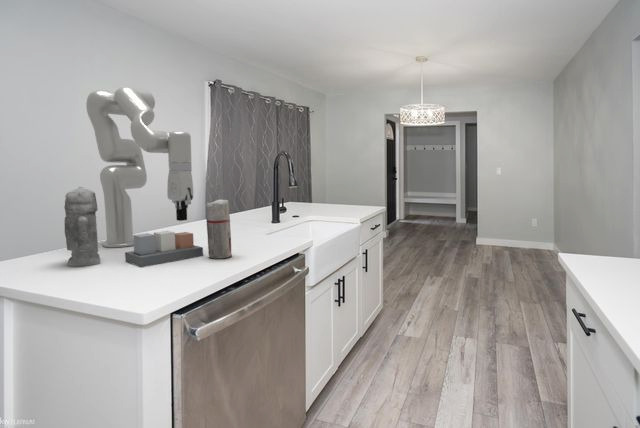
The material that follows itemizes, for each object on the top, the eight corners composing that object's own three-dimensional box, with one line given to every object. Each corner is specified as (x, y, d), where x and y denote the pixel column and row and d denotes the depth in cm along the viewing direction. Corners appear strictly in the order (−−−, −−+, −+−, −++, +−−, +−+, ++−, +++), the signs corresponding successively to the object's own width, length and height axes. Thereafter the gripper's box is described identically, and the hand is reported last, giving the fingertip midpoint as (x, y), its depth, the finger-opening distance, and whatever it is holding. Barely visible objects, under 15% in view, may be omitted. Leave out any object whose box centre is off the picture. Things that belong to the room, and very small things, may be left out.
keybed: (125, 261, 141) (124, 252, 140) (185, 250, 157) (184, 243, 157) (142, 266, 133) (141, 257, 132) (203, 255, 149) (202, 247, 149)
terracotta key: (173, 250, 150) (172, 233, 149) (186, 248, 153) (185, 231, 153) (180, 252, 146) (180, 235, 146) (193, 250, 150) (193, 233, 149)
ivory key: (154, 249, 144) (153, 232, 144) (168, 247, 148) (167, 230, 147) (161, 251, 141) (160, 234, 140) (175, 249, 145) (174, 232, 144)
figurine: (100, 256, 147) (95, 185, 144) (101, 265, 135) (96, 187, 132) (67, 260, 142) (62, 186, 140) (66, 269, 130) (60, 188, 127)
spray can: (226, 260, 142) (224, 201, 140) (203, 258, 144) (201, 200, 141) (236, 254, 150) (234, 198, 148) (214, 253, 152) (212, 198, 150)
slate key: (134, 253, 139) (133, 235, 138) (148, 250, 143) (147, 233, 142) (141, 255, 136) (140, 236, 135) (155, 252, 139) (155, 234, 139)
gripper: (159, 167, 148) (161, 219, 151) (181, 168, 139) (183, 223, 141) (178, 167, 154) (180, 217, 156) (201, 168, 144) (203, 221, 146)
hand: (181, 220), depth 149 cm, fingers closed
